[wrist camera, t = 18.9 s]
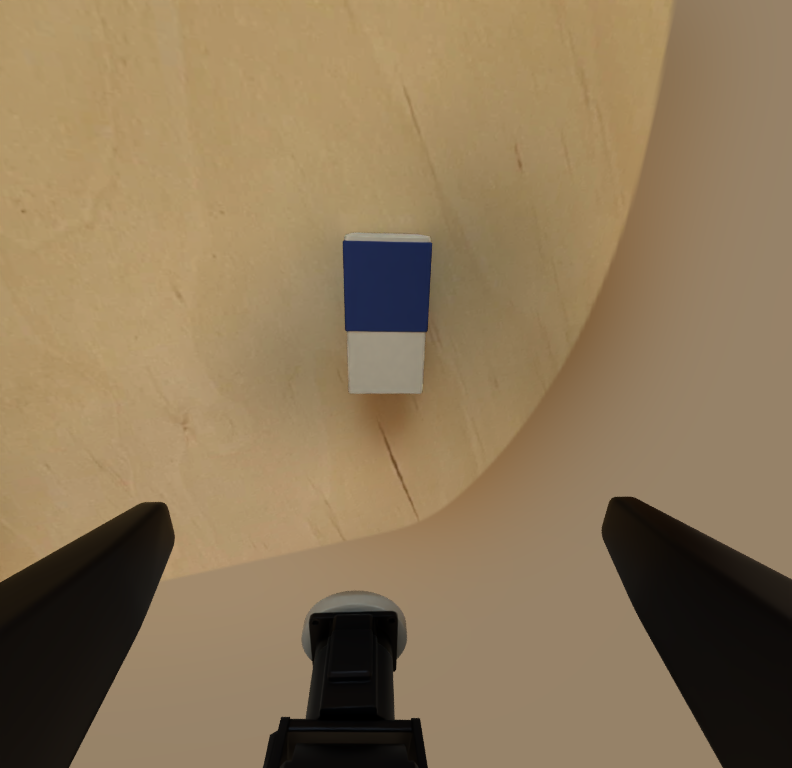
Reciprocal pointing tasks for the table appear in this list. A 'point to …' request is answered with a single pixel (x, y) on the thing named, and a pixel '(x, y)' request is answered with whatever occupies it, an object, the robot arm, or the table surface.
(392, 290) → the eraser
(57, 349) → the table surface
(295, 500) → the table surface
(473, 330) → the table surface
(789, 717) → the robot arm
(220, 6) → the table surface
